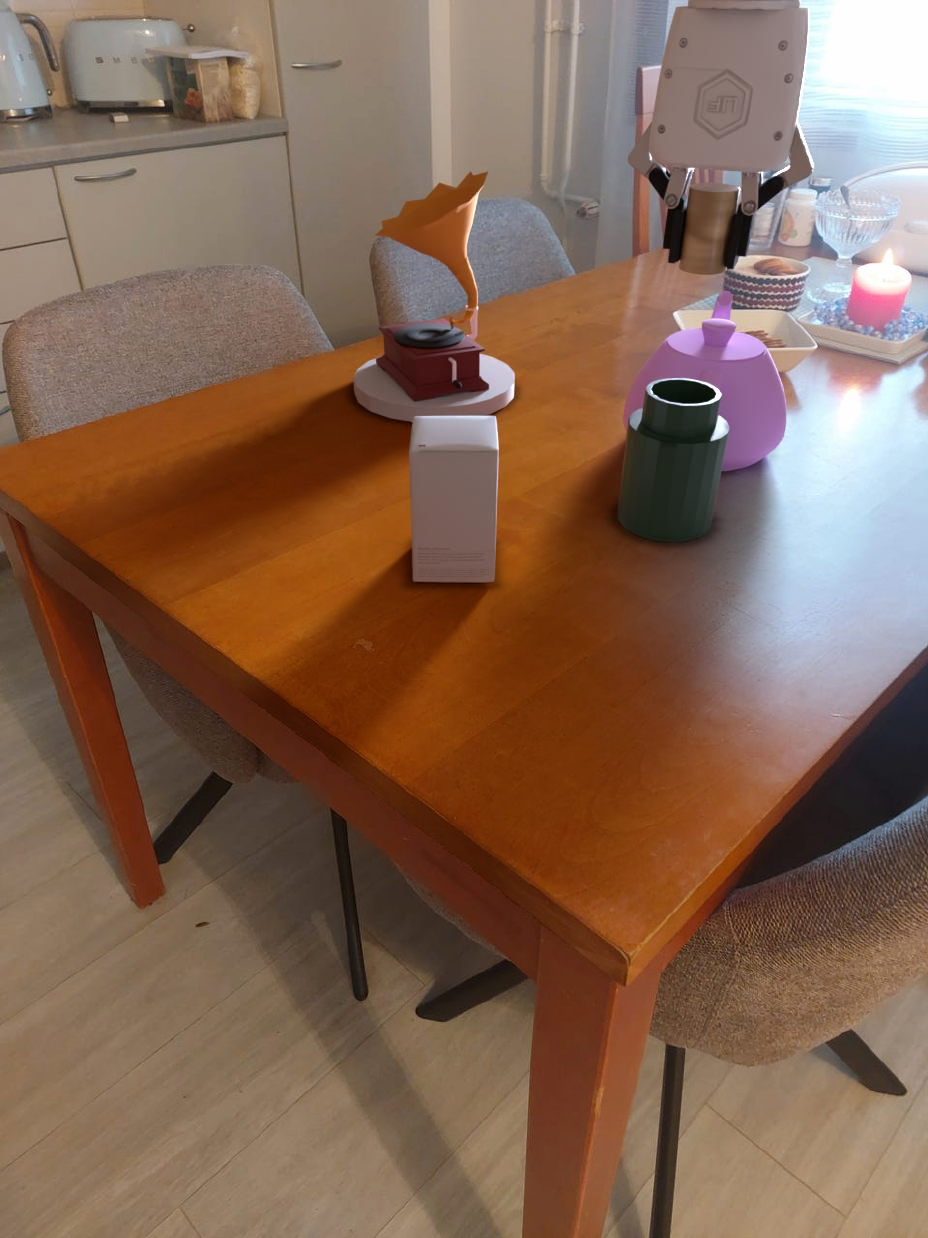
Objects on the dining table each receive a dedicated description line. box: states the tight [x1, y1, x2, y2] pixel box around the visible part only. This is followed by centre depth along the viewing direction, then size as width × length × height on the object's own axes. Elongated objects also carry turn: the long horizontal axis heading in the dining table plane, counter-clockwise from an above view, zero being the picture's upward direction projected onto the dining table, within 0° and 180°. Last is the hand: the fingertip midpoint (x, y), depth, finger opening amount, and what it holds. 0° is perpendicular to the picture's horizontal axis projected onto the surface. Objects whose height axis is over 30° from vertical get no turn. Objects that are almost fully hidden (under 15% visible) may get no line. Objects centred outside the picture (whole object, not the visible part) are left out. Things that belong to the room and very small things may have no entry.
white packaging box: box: [408, 415, 500, 584], centre depth 77 cm, size 7×7×13 cm
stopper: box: [678, 182, 741, 276], centre depth 70 cm, size 4×4×6 cm
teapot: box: [622, 290, 788, 472], centre depth 98 cm, size 25×18×14 cm
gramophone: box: [352, 170, 516, 423], centre depth 107 cm, size 20×20×25 cm
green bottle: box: [617, 378, 730, 543], centre depth 83 cm, size 9×9×13 cm
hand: (703, 259), depth 72 cm, fingers closed on stopper, 3 cm apart
